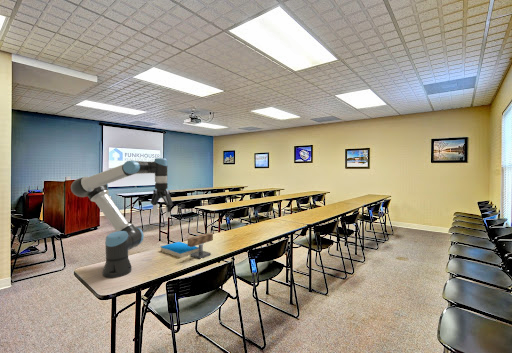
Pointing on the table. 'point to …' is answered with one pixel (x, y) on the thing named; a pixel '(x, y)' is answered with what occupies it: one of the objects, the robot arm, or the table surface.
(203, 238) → the walnut beam
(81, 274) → the table surface
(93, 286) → the table surface
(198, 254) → the grey post on base
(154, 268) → the table surface
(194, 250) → the book
